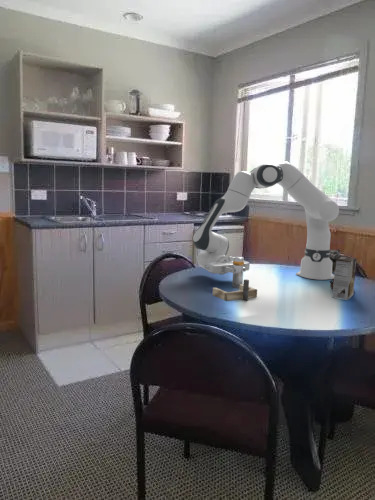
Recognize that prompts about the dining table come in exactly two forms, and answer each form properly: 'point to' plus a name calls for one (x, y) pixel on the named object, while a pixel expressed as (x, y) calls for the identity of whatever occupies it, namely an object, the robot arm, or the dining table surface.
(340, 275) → the coffee box
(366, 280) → the dining table surface
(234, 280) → the silver metal cylinder
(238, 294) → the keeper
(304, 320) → the dining table surface
